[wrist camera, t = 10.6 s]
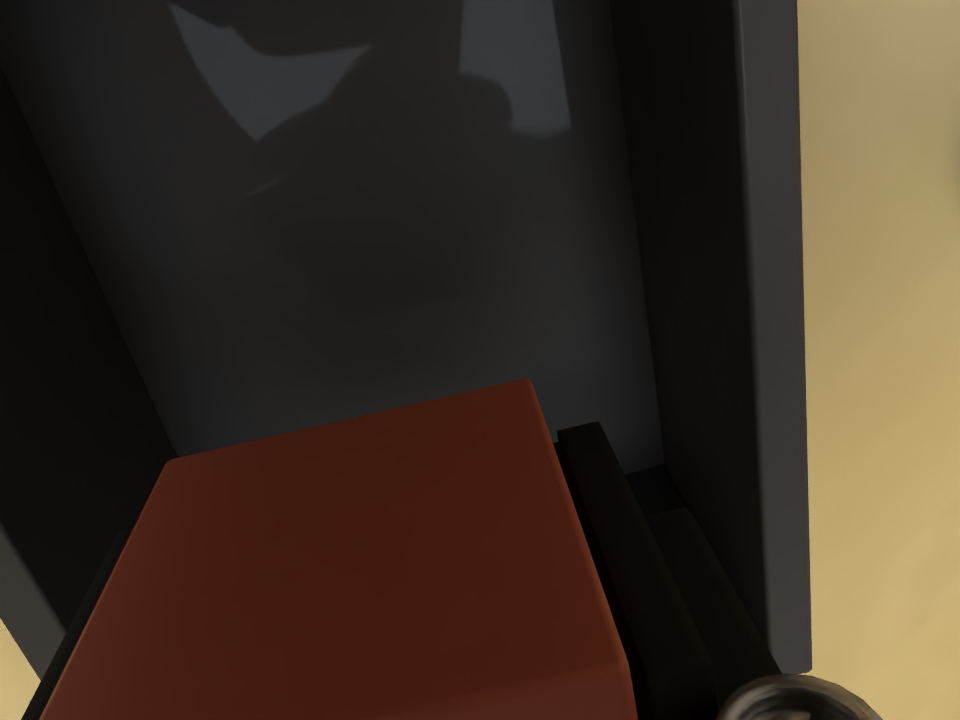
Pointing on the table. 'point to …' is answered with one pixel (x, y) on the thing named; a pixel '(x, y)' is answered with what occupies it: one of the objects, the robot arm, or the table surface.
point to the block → (359, 580)
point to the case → (399, 254)
